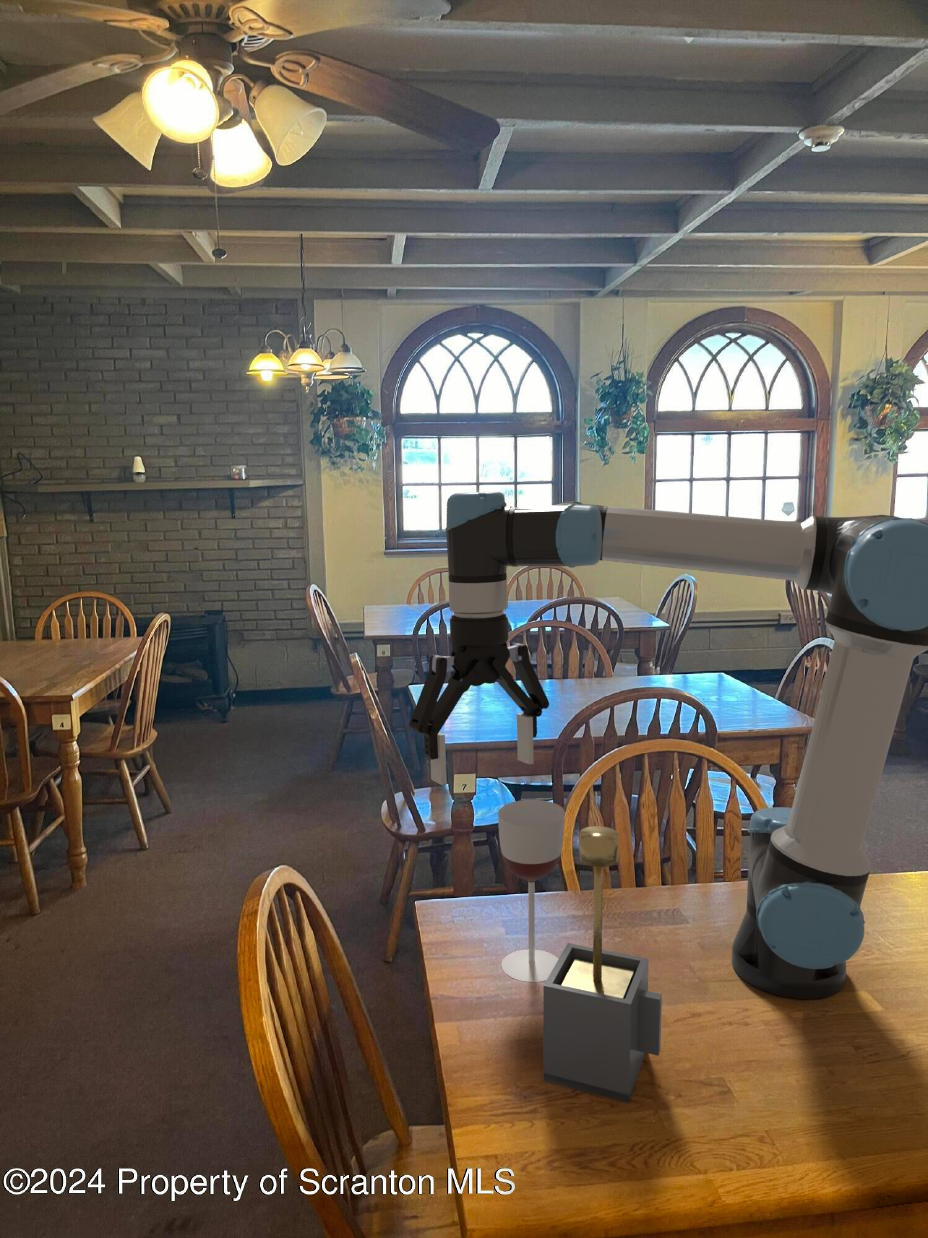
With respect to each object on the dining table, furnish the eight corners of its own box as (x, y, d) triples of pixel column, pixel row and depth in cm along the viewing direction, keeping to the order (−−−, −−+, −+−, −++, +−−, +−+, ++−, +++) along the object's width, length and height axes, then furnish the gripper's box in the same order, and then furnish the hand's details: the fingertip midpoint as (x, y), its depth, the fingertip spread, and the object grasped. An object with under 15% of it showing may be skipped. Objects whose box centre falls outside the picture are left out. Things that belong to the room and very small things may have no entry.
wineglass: (573, 955, 130) (573, 805, 126) (550, 991, 121) (550, 830, 117) (514, 942, 134) (514, 796, 130) (488, 976, 125) (486, 820, 121)
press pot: (666, 1054, 107) (668, 962, 105) (650, 1108, 98) (652, 1009, 96) (567, 1031, 112) (567, 943, 110) (543, 1081, 103) (543, 985, 101)
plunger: (634, 976, 106) (636, 826, 103) (620, 1009, 99) (623, 850, 96) (575, 964, 108) (576, 818, 105) (558, 996, 102) (559, 841, 99)
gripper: (539, 600, 124) (543, 747, 127) (378, 620, 111) (386, 782, 114) (573, 606, 117) (575, 760, 120) (406, 627, 105) (413, 799, 108)
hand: (483, 771), depth 117 cm, fingers open, 13 cm apart
